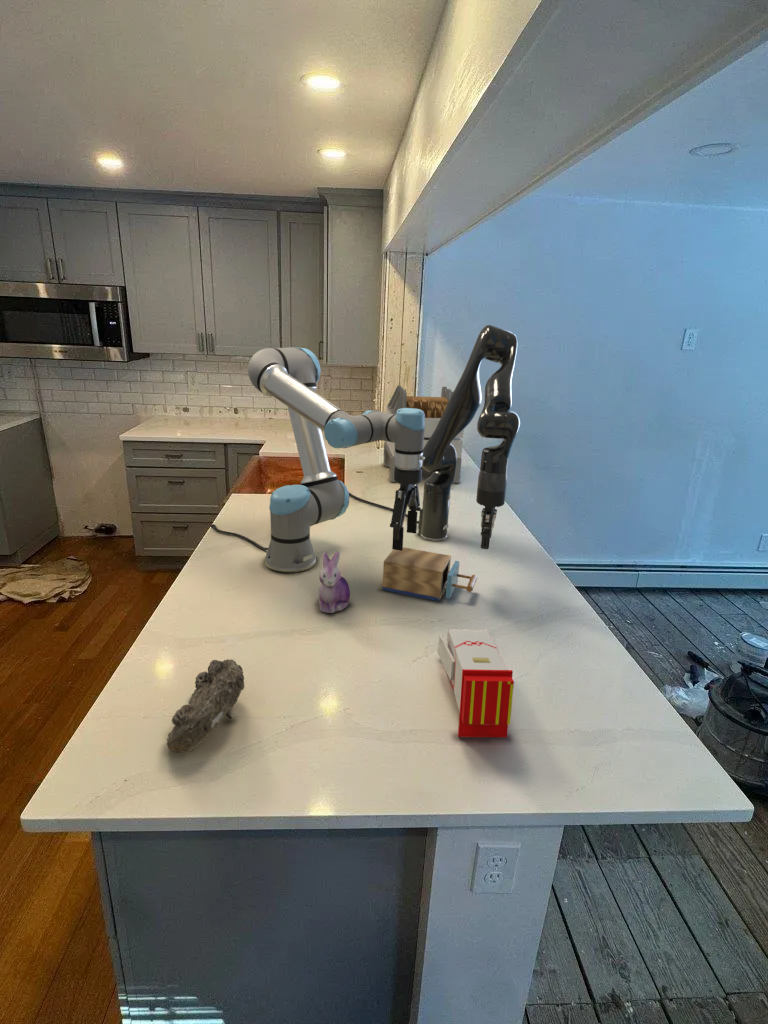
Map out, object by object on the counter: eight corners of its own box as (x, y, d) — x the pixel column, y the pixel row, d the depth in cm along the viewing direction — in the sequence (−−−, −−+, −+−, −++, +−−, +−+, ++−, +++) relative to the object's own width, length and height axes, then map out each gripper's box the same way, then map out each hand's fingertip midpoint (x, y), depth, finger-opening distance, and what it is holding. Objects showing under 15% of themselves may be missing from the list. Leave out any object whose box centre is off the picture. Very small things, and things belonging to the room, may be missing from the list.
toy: (488, 613, 130) (523, 677, 101) (484, 667, 133) (517, 744, 104) (435, 612, 130) (455, 676, 101) (432, 666, 133) (451, 743, 103)
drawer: (477, 586, 162) (479, 564, 159) (470, 603, 153) (472, 579, 150) (407, 573, 168) (408, 552, 165) (396, 588, 159) (398, 566, 156)
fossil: (192, 660, 117) (244, 628, 112) (224, 691, 120) (276, 661, 115) (142, 746, 98) (202, 712, 93) (182, 779, 101) (242, 748, 96)
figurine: (324, 618, 144) (324, 564, 139) (310, 599, 152) (310, 548, 147) (358, 610, 148) (359, 558, 143) (342, 593, 156) (343, 543, 151)
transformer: (382, 463, 289) (386, 382, 275) (445, 464, 293) (451, 384, 279) (390, 482, 257) (394, 392, 243) (460, 483, 261) (468, 394, 247)
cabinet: (448, 583, 165) (451, 555, 162) (439, 601, 155) (441, 571, 152) (394, 573, 170) (396, 546, 167) (382, 590, 160) (383, 560, 157)
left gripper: (408, 480, 139) (404, 559, 146) (433, 458, 162) (428, 528, 169) (379, 477, 142) (377, 555, 149) (408, 455, 164) (404, 524, 171)
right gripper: (504, 495, 143) (498, 554, 148) (507, 480, 156) (501, 535, 162) (475, 492, 145) (469, 550, 150) (480, 478, 158) (474, 532, 163)
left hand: (404, 540), depth 159 cm, fingers open, 13 cm apart
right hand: (486, 542), depth 156 cm, fingers open, 8 cm apart
